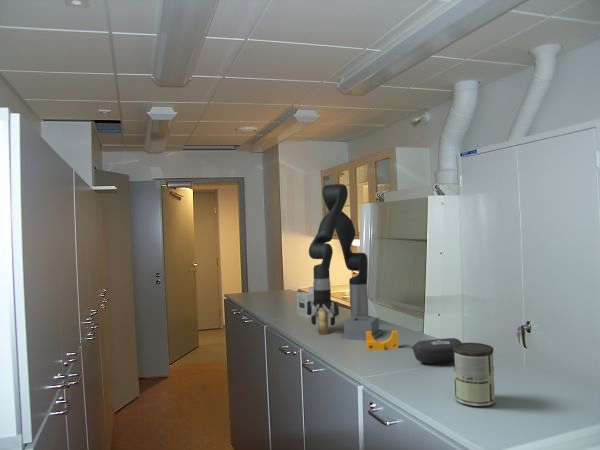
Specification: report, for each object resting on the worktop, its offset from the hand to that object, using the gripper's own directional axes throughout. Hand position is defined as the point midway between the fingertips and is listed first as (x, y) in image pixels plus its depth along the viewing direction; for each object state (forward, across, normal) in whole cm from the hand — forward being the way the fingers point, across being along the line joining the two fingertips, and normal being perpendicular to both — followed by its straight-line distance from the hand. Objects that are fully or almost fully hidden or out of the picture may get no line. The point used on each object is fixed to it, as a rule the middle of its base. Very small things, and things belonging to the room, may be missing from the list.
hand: (323, 325), depth 214 cm
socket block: (+4, -17, -2) cm, 18 cm away
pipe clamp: (+4, -31, +17) cm, 35 cm away
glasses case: (+4, -53, +29) cm, 61 cm away
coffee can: (+4, -67, +62) cm, 91 cm away
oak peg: (+4, 0, 0) cm, 4 cm away
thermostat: (+4, +21, -41) cm, 46 cm away
